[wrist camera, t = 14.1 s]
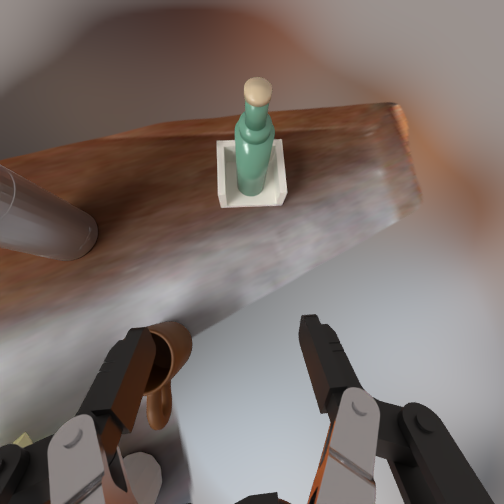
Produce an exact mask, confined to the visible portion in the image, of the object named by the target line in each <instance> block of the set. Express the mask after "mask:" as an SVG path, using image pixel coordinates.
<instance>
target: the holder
mask: <svg viewBox="0 0 504 504" xmlns="http://www.w3.org/2000/svg"><path fill="white" fill-rule="evenodd" d="M217 173H218V197H219V201H220V205H221V208H227V207H254V206H281V205H282V204H283V202H284V199H285V197H286V194H287V185H286V175H285V165H284V155H283V146H282V139H276V140H273V145H272V150H271V155H270V160H269V165H268V170H267V175H266V180H265V185H264V189H263V191H262V192H261V193H260V194H258V195H256V196H246V195H244V194H242V193H241V192H240V191H239V190H238V187H237V174H236V150H235V140H228V141H217Z"/></svg>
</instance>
